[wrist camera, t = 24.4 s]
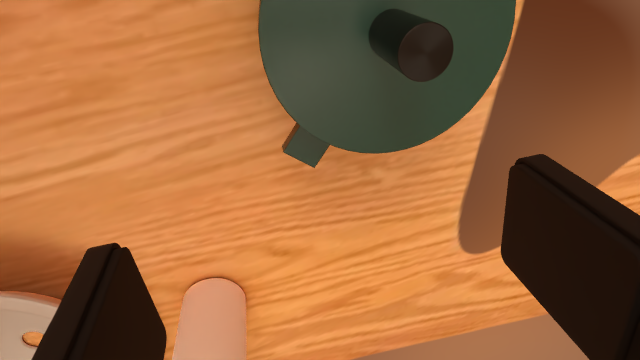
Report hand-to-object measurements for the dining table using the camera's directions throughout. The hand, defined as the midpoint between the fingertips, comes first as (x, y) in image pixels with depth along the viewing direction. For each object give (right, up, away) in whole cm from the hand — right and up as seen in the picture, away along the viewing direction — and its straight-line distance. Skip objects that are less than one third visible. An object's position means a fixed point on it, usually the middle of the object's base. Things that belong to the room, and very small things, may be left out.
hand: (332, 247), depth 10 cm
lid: (+4, +10, +13) cm, 17 cm away
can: (-11, -11, +34) cm, 38 cm away
